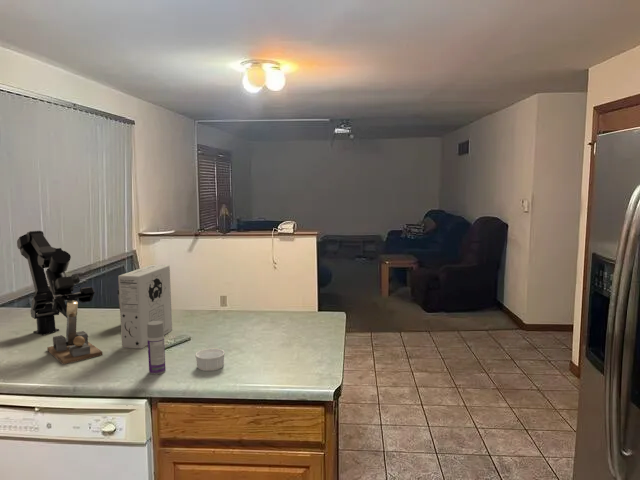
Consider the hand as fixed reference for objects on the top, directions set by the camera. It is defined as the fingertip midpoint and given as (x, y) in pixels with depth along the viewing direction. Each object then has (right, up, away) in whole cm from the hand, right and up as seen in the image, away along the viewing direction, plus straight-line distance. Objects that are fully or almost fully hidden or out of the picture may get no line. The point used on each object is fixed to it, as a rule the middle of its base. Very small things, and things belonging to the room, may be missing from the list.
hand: (70, 319), depth 171 cm
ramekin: (+49, -13, -13) cm, 52 cm away
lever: (-1, -8, +2) cm, 9 cm away
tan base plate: (+1, -11, 0) cm, 11 cm away
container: (+34, -13, -17) cm, 40 cm away
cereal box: (+21, -9, +15) cm, 27 cm away
